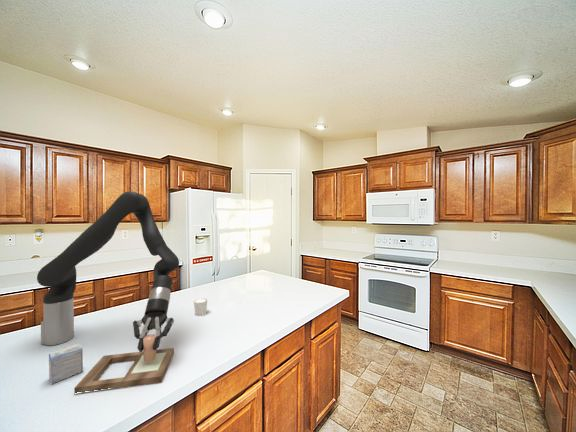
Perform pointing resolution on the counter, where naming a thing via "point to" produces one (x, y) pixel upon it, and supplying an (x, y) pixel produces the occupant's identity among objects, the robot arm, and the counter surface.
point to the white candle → (200, 307)
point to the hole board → (136, 374)
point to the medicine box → (65, 363)
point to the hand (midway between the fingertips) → (147, 350)
